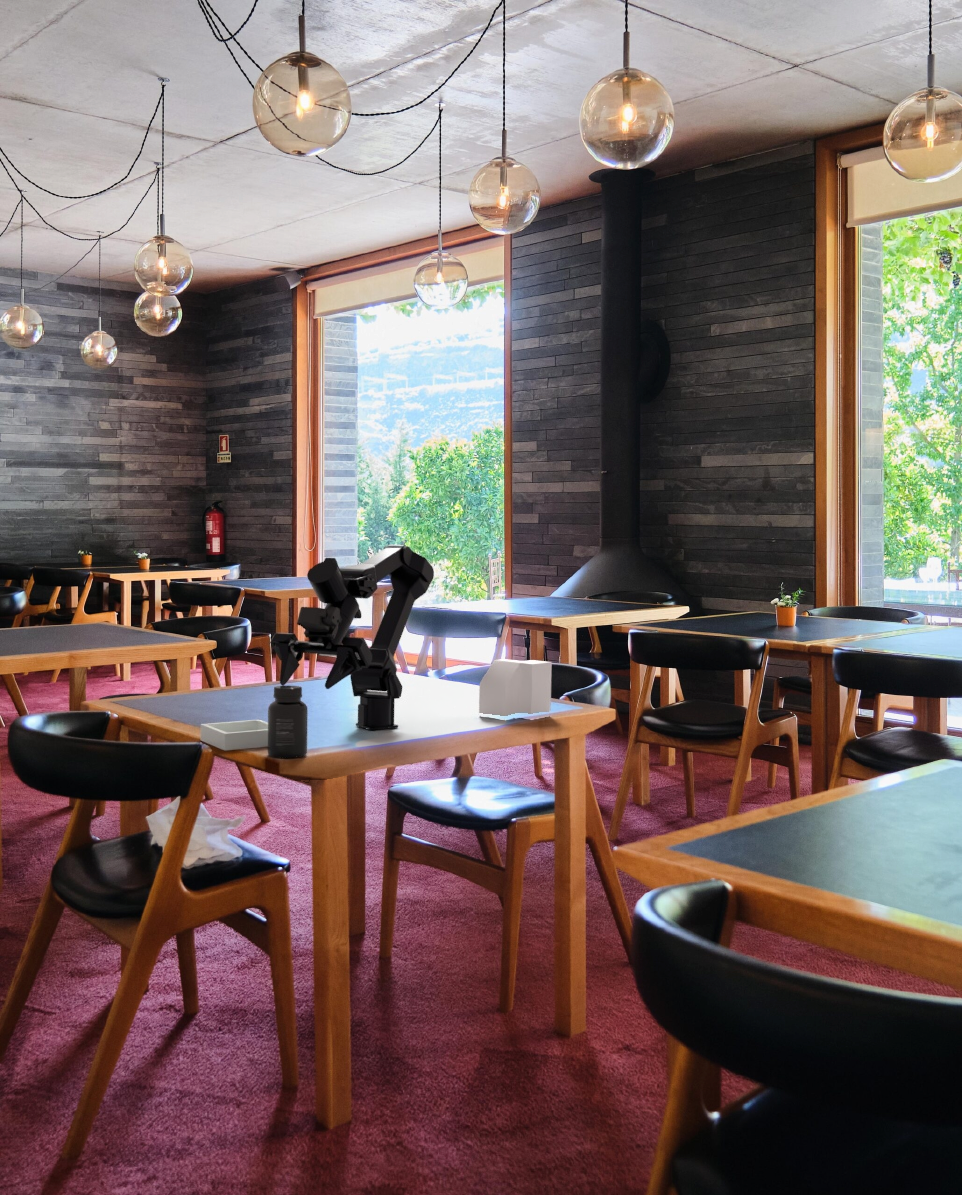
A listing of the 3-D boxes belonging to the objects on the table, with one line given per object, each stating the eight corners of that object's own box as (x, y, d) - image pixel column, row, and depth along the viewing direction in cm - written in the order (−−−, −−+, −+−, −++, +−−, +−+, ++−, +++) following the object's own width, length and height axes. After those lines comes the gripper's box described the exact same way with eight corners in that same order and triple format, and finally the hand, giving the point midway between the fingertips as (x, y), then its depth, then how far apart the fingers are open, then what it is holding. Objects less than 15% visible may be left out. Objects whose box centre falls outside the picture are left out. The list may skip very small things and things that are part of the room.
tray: (258, 735, 217) (259, 719, 217) (284, 744, 207) (285, 728, 207) (200, 740, 210) (200, 724, 210) (224, 750, 201) (224, 733, 201)
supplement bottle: (315, 754, 199) (316, 686, 198) (288, 760, 193) (289, 690, 192) (285, 750, 202) (286, 683, 202) (259, 755, 197) (259, 687, 196)
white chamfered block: (550, 717, 246) (551, 662, 246) (517, 722, 238) (518, 665, 237) (512, 711, 253) (513, 657, 253) (479, 716, 245) (480, 661, 244)
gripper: (276, 589, 209) (241, 653, 200) (366, 592, 202) (334, 659, 193) (298, 629, 217) (265, 692, 207) (385, 634, 210) (355, 700, 200)
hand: (303, 685), depth 202 cm, fingers open, 9 cm apart
